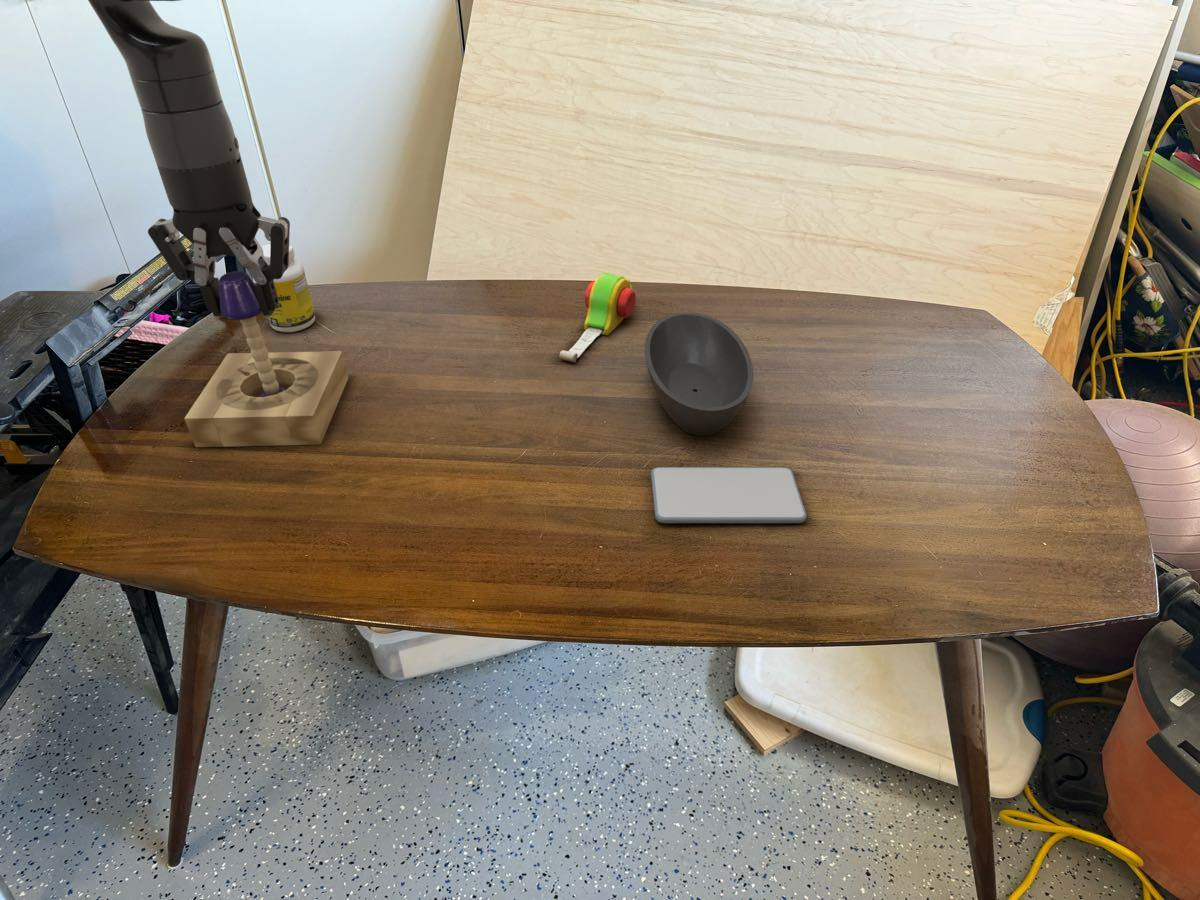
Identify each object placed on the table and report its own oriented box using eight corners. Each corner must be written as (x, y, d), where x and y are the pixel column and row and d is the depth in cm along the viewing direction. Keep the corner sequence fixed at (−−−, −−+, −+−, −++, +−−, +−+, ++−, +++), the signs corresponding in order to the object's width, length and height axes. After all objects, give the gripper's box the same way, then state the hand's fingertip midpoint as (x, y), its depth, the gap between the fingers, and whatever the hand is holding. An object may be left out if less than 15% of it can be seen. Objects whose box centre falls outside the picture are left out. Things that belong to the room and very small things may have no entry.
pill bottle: (261, 330, 111) (238, 255, 104) (287, 310, 115) (267, 237, 109) (300, 336, 109) (279, 261, 102) (325, 316, 114) (307, 242, 107)
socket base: (195, 447, 89) (183, 418, 87) (236, 380, 100) (227, 353, 98) (320, 444, 89) (313, 415, 87) (348, 378, 100) (342, 350, 98)
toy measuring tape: (647, 306, 116) (649, 263, 112) (587, 369, 102) (586, 323, 98) (608, 297, 118) (608, 255, 114) (544, 358, 104) (541, 313, 100)
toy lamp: (283, 419, 92) (243, 286, 82) (245, 415, 93) (201, 283, 83) (301, 396, 96) (266, 267, 86) (265, 393, 96) (226, 264, 86)
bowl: (727, 353, 105) (732, 311, 101) (763, 455, 87) (770, 408, 84) (635, 356, 104) (637, 313, 101) (653, 459, 87) (655, 412, 83)
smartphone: (808, 519, 78) (655, 518, 77) (807, 526, 78) (655, 526, 78) (791, 465, 84) (650, 465, 84) (790, 473, 85) (650, 472, 85)
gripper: (103, 166, 73) (165, 330, 84) (260, 164, 74) (302, 328, 84) (138, 143, 79) (192, 298, 90) (283, 141, 80) (320, 296, 90)
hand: (245, 312), depth 87 cm, fingers closed on toy lamp, 4 cm apart
